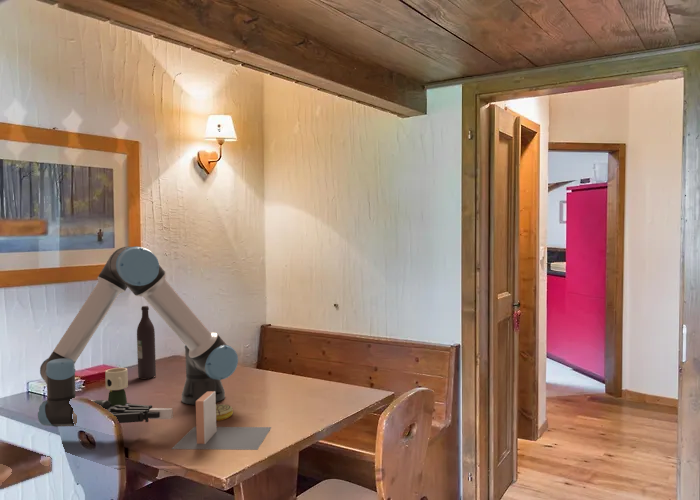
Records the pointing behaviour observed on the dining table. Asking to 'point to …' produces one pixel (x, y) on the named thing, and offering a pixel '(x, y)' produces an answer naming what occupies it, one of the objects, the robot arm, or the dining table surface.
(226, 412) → the decorated donut
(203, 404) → the terracotta tile
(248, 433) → the slate mat
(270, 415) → the dining table surface
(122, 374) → the character mug
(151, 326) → the wine bottle
